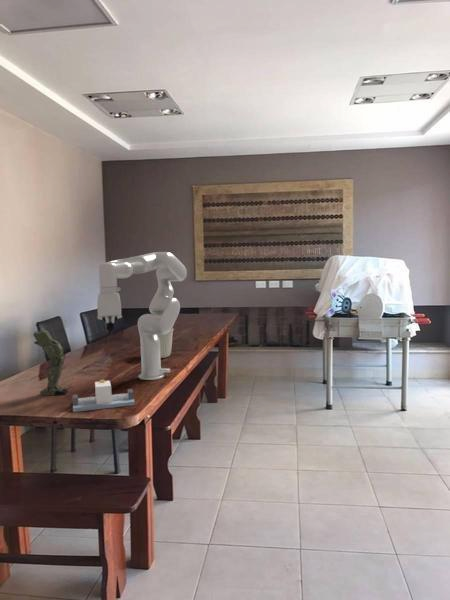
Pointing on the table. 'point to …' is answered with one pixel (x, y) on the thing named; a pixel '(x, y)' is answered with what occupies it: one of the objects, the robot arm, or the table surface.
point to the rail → (93, 399)
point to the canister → (165, 344)
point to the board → (103, 405)
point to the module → (103, 392)
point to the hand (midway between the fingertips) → (110, 331)
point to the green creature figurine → (51, 362)
